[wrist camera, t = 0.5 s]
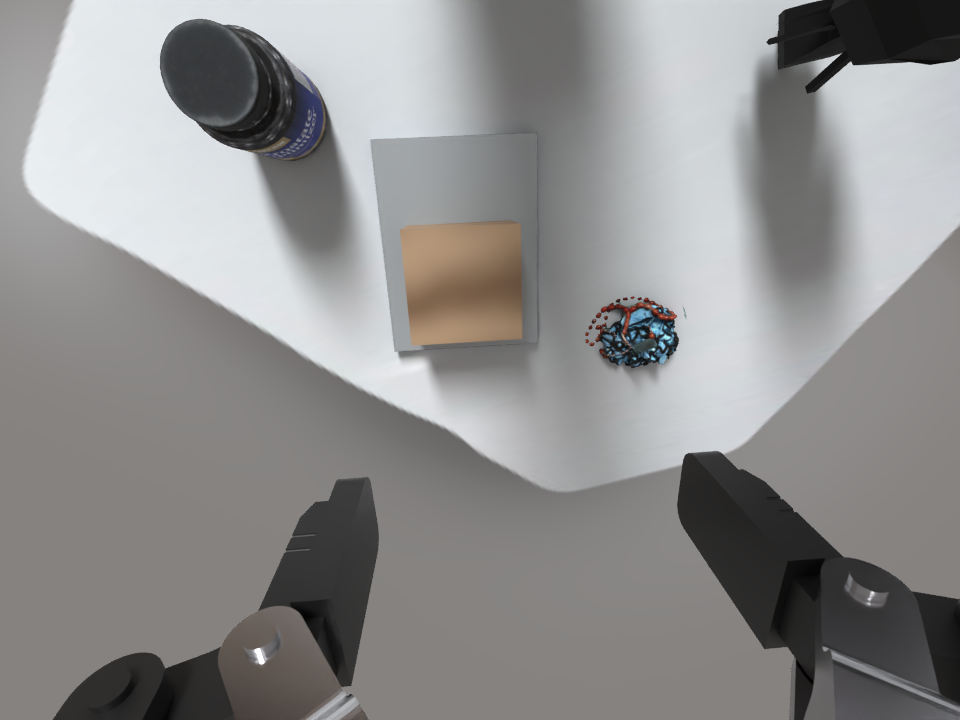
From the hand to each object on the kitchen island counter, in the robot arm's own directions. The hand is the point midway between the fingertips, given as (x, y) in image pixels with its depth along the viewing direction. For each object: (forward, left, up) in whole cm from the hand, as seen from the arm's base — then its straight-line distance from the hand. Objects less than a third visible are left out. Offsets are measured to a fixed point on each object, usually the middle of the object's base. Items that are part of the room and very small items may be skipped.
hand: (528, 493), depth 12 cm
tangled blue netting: (+5, +14, -28) cm, 32 cm away
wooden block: (-1, -1, -27) cm, 27 cm away
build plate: (-3, -1, -28) cm, 28 cm away
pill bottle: (-13, -13, -28) cm, 34 cm away
